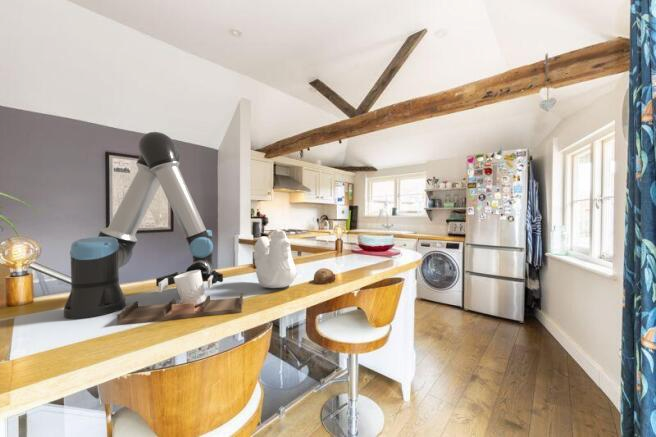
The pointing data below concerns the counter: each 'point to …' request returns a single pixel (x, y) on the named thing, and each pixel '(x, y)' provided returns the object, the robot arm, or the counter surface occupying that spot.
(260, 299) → the counter surface
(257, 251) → the decorative rooster
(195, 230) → the robot arm
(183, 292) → the white cup
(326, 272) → the bread roll
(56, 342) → the counter surface
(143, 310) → the brown compartment tray
